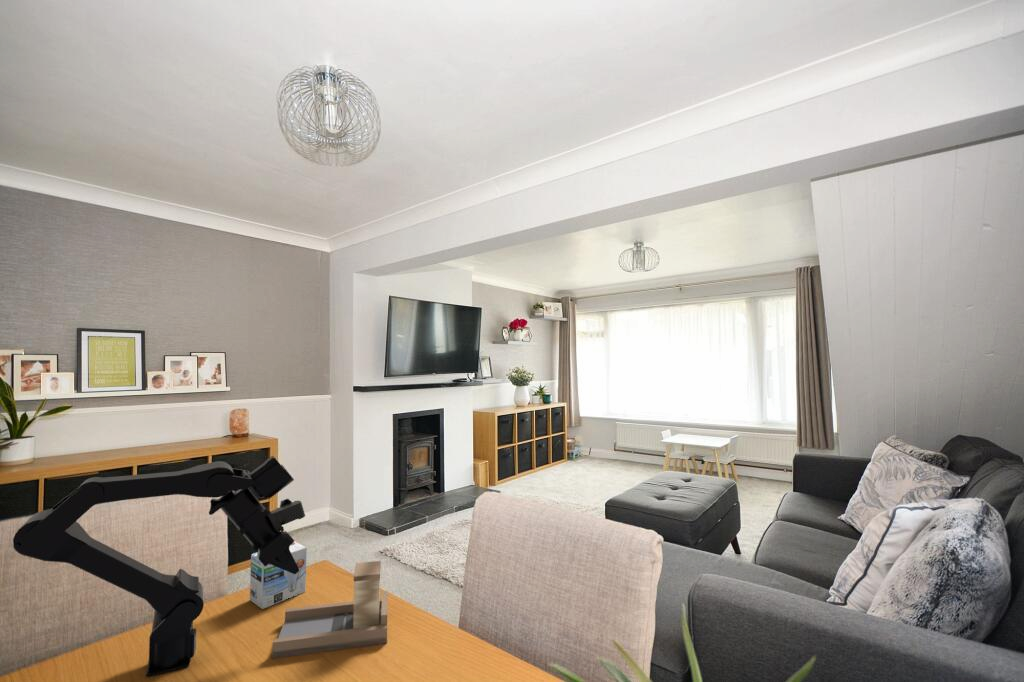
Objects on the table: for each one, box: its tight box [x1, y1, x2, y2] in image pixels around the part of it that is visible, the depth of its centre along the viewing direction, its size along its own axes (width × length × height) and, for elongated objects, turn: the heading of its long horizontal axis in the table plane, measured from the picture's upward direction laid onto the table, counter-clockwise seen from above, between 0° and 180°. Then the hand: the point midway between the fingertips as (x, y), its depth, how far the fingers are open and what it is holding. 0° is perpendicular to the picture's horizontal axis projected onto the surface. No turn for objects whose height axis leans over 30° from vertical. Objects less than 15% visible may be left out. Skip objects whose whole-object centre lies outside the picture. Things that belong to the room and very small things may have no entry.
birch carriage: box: [353, 560, 382, 629], centre depth 100 cm, size 5×6×11 cm
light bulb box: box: [249, 540, 308, 610], centre depth 113 cm, size 11×7×11 cm, turn 143°
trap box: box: [272, 590, 389, 659], centre depth 98 cm, size 21×12×5 cm, turn 104°
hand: (297, 572), depth 98 cm, fingers closed
